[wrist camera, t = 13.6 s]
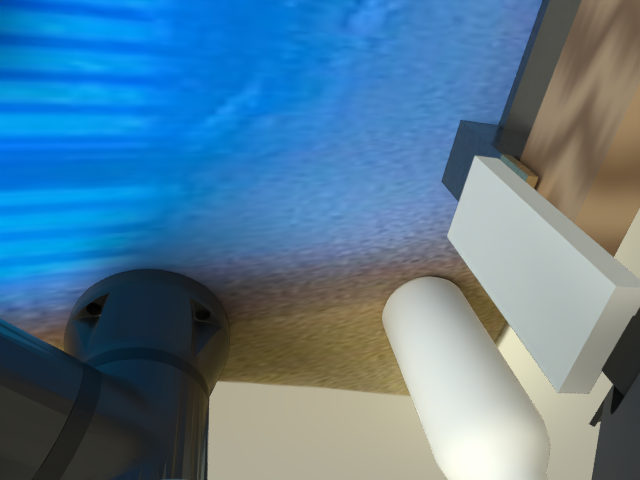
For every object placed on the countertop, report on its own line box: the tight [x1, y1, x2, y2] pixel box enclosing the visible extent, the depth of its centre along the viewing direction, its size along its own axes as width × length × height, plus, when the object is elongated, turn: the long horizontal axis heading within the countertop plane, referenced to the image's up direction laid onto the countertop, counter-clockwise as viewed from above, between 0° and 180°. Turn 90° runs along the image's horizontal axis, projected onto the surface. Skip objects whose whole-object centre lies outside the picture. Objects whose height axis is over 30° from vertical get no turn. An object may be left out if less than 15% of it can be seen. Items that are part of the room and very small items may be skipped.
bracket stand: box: [441, 0, 582, 202], centre depth 37 cm, size 33×8×12 cm, turn 170°
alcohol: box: [382, 276, 550, 480], centre depth 43 cm, size 9×9×30 cm
